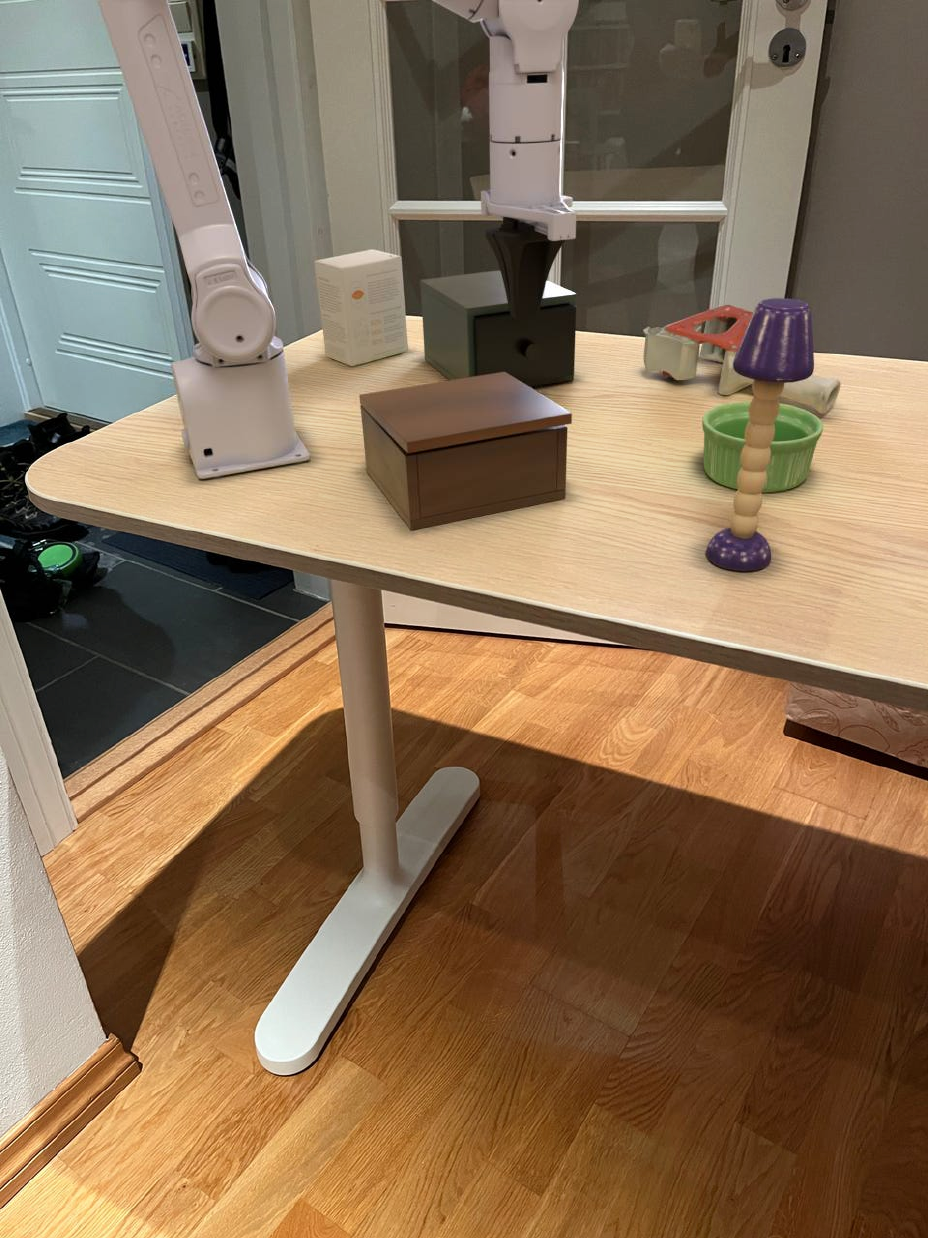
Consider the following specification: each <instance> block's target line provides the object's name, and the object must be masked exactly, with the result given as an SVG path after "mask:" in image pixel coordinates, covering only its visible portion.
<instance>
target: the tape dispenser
mask: <svg viewBox="0 0 928 1238" xmlns="http://www.w3.org/2000/svg"><path fill="white" fill-rule="evenodd" d="M753 312H754V311H749V310H746V309H743V308H740V307H736V306H734V305H731V304H724V305H721V306H717V307H711V308H708V309H706V310H705V311H703V312H699V313H697V314H693V315H691V316H688V317H686V318H683V319H682V320H678V321H674V322H672V323H669V324H667V325H665V326H663V327H659V326H656V327H652V328H651V327H650V326H647V327H646V328H644V329H643V333H644V334H645V337H644V347H643V364H644V369H645V371H646V372H653V371H654V372H655V371H661V376H663V377H666V376H668V377H670V378H672V379H673V380H676V381H686V380H692V379H694V378H695V377H696V373H697V368H698V361H699V356H700V358H703V359H706V360H711V361H714V362H718V363H722V368H721V372H720V373H721V375H720V380H719V385H718V390H717V392H718V394H719V395H722V396H731V395H733V394H734V393H737V392H740V391H741V390H743V389H745V388H747V387H749V386H750V385H753V381H754V379H750V378H747V377H744V376H742V375H739V374H738V373H737V372H735V370H734V369H733V361H734V358H735V355H736V353H737V350H738V348H739V345H740V343H741V340H742V338H743V336H744V333H745V331H746V329H747V326H748V324H749V322H750V319H751V317H752V315H753ZM704 323H705V326H704V330H703V332H702V327H703V326H702V325H703V324H704ZM700 346H701V347H700ZM841 384H842V383H841V380H840V379H838V378H827V377H822V376H819V375H817V374H814V373H812V375H811V376H810V377H809V378H807V379H805V380H801V381H797V382H792V383H790V382H788V383H784V388H783V391H782V394H781V395H780V396H779V397H783V398H786V399H788V400H791V401H793V402H797V403H800V404H803V405H806V406H808V407H811V408H813V409H814V410H815V411H817V413H819V414H821V415H824V414H826V413H827V412H828V411H829V410H830V409H831V408H833V406H834V404H835V403H836V401H837V399H838V397H839V393H840V390H841Z"/></svg>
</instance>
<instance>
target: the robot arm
mask: <svg viewBox="0 0 928 1238" xmlns="http://www.w3.org/2000/svg"><path fill="white" fill-rule="evenodd" d="M96 1H97V4H98V7H99V9H100V12H101V15H102V18H103V20H104V21H103V22H104V23H105V27H106V30H107V33H108V35H109V39H110V41H111V44H112V47H113V50H114V53H115V56H116V59H117V62H118V65H119V68H120V72H121V74H122V76H123V77H122V78H123V79H124V83H125V86H126V88H127V91H128V95H129V97H130V101H131V103H132V107H133V109H134V112H135V116H136V118H137V121H138V124H139V127H140V129H141V132H142V135H143V139H144V141H145V144H146V147H147V150H148V154H149V157H150V159H151V162H152V165H153V168H154V170H155V174H156V177H157V179H158V182H159V186H160V189H161V191H162V195H163V197H164V200H165V203H166V206H167V209H168V212H169V215H170V218H171V221H172V224H173V227H174V229H175V232H176V236H177V239H178V243H179V246H180V250H181V254H182V257H183V262H184V266H185V270H186V272H187V276H188V279H189V282H190V286H191V291H190V292H191V301H192V306H191V312H190V313H191V315H190V316H191V318H190V319H191V326H192V330H193V333H194V335H195V337H196V339H197V341H198V343H196V344H195V345H194V346H193V356H190V357H188V358H185V359H182V360H176V361H172V362H171V363H170V368H171V373H172V374H171V375H172V379H173V384H174V389H175V393H176V394H175V395H176V398H177V403H178V408H179V412H180V417H181V422H182V427H183V428H182V429H181V430H180V431H181V437H182V441H183V445H184V449H185V451H188V453H189V456H190V459H191V461H192V464H193V467H194V470H195V473H196V476H197V478H198V479H200V480H204V479H210V478H215V477H216V478H217V477H223V476H227V475H231V474H232V475H234V474H239V473H244V472H250V471H255V470H261V469H267V468H272V467H279V466H285V465H291V464H295V463H301V462H306V461H309V460H310V459H311V455H310V452H309V451H308V450H307V448H306V446H305V445H304V443H303V442H302V440H301V439H300V437H299V436H298V434H297V433H296V426H295V418H294V412H293V406H292V398H291V397H292V396H291V391H290V384H289V377H288V370H287V364H286V355H285V350H284V343H283V341H282V339H281V338H279V337H277V336H276V335H275V334H276V329H277V317H276V316H277V315H276V312H275V309H274V306H273V304H272V301H271V300H270V297H269V289H268V286H267V283H266V281H265V279H264V277H263V276H262V274H261V273H260V272H259V270H258V269H257V268H256V267H255V266H254V265H253V264H252V262H251V261H250V260H249V258H248V257H247V255H246V252H245V249H244V246H243V243H242V240H241V237H240V234H239V230H238V228H237V225H236V222H235V221H236V220H235V217H234V215H233V211H232V208H231V204H230V201H229V198H228V195H227V190H226V188H225V185H224V181H223V178H222V175H221V173H220V172H221V171H220V169H219V165H218V162H217V159H216V155H215V152H214V148H213V146H212V142H211V139H210V135H209V132H208V128H207V126H206V122H205V119H204V116H203V111H202V109H201V106H200V103H199V99H198V95H197V92H196V89H195V86H194V83H193V79H192V75H191V73H190V70H189V66H188V63H187V59H186V57H185V53H184V50H183V46H182V44H181V39H180V37H179V33H178V30H177V27H176V24H175V20H174V18H173V17H174V16H173V14H172V11H171V7H170V3H169V0H96ZM431 1H432V2H434V3H436V4H438V5H440V6H441V7H443V8H445V9H447V10H449V11H450V12H453V13H454V14H455V15H458V16H460V17H462V18H464V19H465V20H467V21H469V22H470V23H474V24H475V23H477V22H479V23H480V26H481V28H482V30H483V31H484V33H485V35H486V36H487V37H488V38H489V73H488V103H489V106H488V109H489V113H488V115H489V116H488V117H489V186H490V188H489V189H488V190H480V210H481V211H480V214H481V215H482V216H485V217H488V216H489V217H490V216H494V217H496V218H500V219H502V223H501V224H500V227H494V228H493V227H491V228H488V229H485V238H486V240H487V243H488V244H489V246H490V247H491V250H492V252H493V254H494V256H495V259H496V261H497V265H498V268H499V270H500V271H501V275H502V279H503V283H504V287H505V292H506V297H507V301H508V306H509V310H510V313H511V315H512V316H514V317H515V318H525V317H533V316H538V313H539V310H540V306H541V302H542V298H543V294H544V290H545V286H546V282H547V281H548V278H549V275H550V272H551V269H552V266H553V264H554V262H555V259H556V258H557V255H558V253H559V252H560V249H561V248H562V246H563V245H564V244H565V242H566V240H575V239H576V238H577V215H578V214H577V212H576V211H574V210H572V209H570V208H572V207H573V204H574V203H573V201H574V199H573V197H572V196H567V195H561V183H562V181H561V180H562V150H563V149H562V146H563V139H562V138H563V116H564V115H563V114H564V113H563V112H564V110H563V109H564V76H565V75H564V74H565V73H564V48H565V37H566V35H567V34H568V33H569V31H570V30H571V28H572V27H573V24H574V22H575V19H576V16H577V14H578V9H579V2H580V1H579V0H431Z"/></svg>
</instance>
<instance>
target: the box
mask: <svg viewBox="0 0 928 1238" xmlns="http://www.w3.org/2000/svg"><path fill="white" fill-rule="evenodd" d="M359 407H360V415H361V426H362V437H363V447H364V457H365V465H366V467H365V468H366V472H367V474H368V476H369V477H370V478H371V479H372V481H373V482H374V483H375V485H376V486H377V487H378V489H379V490H380V491H381V492H382V494H383V495H384V496H385V498H386V500H388V502H389V503H390V505H391V506H392V507H393V508H394V510H395V512H397V514H398V515H399V516H400V518H401V519H402V520H403V522H404V523H405V525H406V526H407V527H408V529H410V531H414V530H419V529H420V530H421V529H424V528H428V527H434V526H439V525H443V524H449V523H452V522H457V521H462V520H468V519H472V518H477V517H482V516H487V515H492V514H498V513H502V512H506V511H511V510H516V509H521V508H526V507H531V506H535V505H540V504H545V503H550V502H554V501H555V502H556V501H559V500H564V499H566V497H567V496H566V491H567V490H566V489H567V462H568V461H567V459H568V457H567V456H568V426H567V425H561V426H556V427H550V428H544V429H539V430H533V431H528V432H522V433H517V434H511V435H506V436H500V437H495V438H489V439H483V440H478V441H472V442H467V443H461V444H456V445H450V446H445V447H439V448H434V449H428V450H422V451H417V452H411V453H407V452H406V451H405V450H404V449H403V448H402V447H401V446H400V445H399V444H398V443H397V442H396V441H395V439H394V438H393V437H392V436H391V435H390V434H389V433H388V432H387V431H386V430H385V429H384V428H383V427H382V426H381V425H380V424H379V423H378V422H377V421H376V420H375V419H374V418H373V417H372V416H371V415H370V414H369V413H368V412H367V411H366V410H365V409H364V408H363V407H362V406H361V404H359Z"/></svg>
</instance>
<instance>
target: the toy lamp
mask: <svg viewBox="0 0 928 1238" xmlns="http://www.w3.org/2000/svg"><path fill="white" fill-rule="evenodd" d="M752 312H753V315H752V317H751V319H750V322H749V324H748V326H747V329H746V331H745V333H744V336H743V338H742V340H741V343H740V345H739V348H738V350H737V353H736V355H735V358H734V361H733V369H734V370H735V372H737V373H738V374H739V375H742V376H744V377H747V378H750V379H754V381H753V384H752V393H753V397H752V399H751V400H750V401H751V403H750V405H749V418H750V421H749V422H748V424H747V426H746V430H745V441H746V444H745V446H744V447H743V449H742V452H741V464H742V468H741V469H740V471H739V473H738V477H737V486H738V489H736V490H737V491H736V492H735V494H734V497H733V510H734V511H733V512H732V515H731V516H730V521H729V527H727V528H724V529H722V530H720V531H718V532H716V533H715V534H714V536H713V537H712V538H711V539H710V541H709V542H708V544H707V547H706V550H705V555H706V557H707V559H708V560H709V561H710V562H711V563H712V564H714V565H716V566H717V567H721V568H723V569H725V570H732V571H738V572H754V571H759V570H761V569H765V568H766V567H767V566H769V565H770V564H771V562H772V550H771V546H770V544H769V542H768V540H767V539H766V538H765V536H764V535H762V533H760V532H759V531H757V529H758V526H759V516H758V513H759V511H760V510H761V508H762V505H763V494H762V493H763V492H761V491H762V490H763V488H764V487H765V484H766V480H767V474H766V470H765V469H766V467H767V466H768V464H769V462H770V457H771V450H770V444H771V443H772V441H773V439H774V435H775V426H774V421H775V420H776V418H777V416H778V413H779V408H780V404H781V403H780V400H779V398H780V397H781V396H780V395H781V394H782V391H783V388H784V383H788V382H790V383H792V382H797V381H801V380H805V379H807V378H809V377H810V376H811V375H812V374H814V370H815V353H814V335H813V323H812V322H813V321H812V319H813V317H812V309H811V307H810V305H809V304H808V303H807V302H805V301H802V300H799V299H793V298H784V297H782V298H781V297H777V298H776V297H775V298H765V299H762V300H761V301H759V302H758V303H757V305H756V306H755V308H754V311H752ZM779 403H780V404H779Z"/></svg>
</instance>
